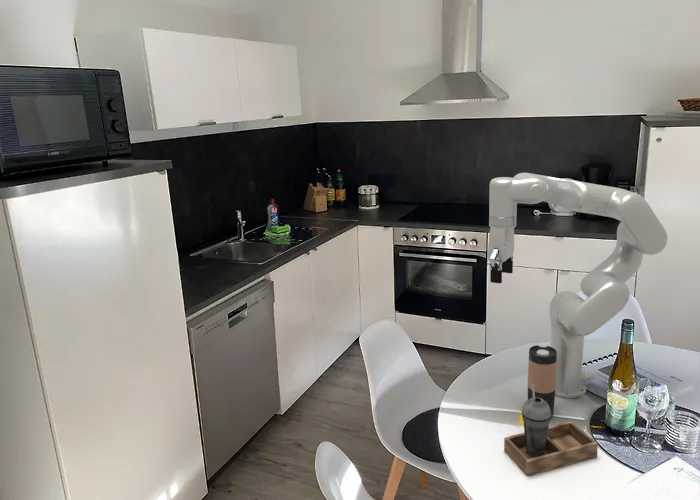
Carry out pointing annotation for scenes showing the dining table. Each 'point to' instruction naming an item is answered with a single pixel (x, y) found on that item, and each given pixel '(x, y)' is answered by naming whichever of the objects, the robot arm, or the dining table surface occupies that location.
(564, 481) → the dining table surface
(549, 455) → the tray
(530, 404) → the beverage cup
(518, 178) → the robot arm
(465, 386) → the dining table surface
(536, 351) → the travel mug
